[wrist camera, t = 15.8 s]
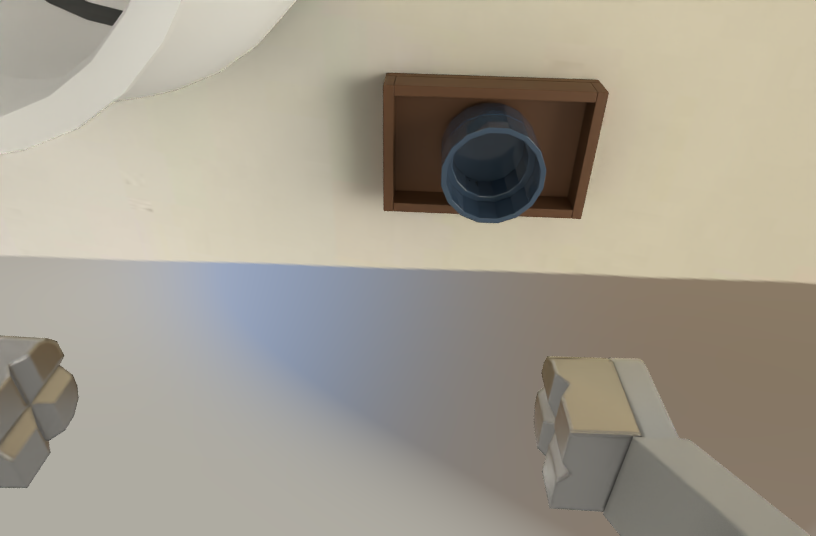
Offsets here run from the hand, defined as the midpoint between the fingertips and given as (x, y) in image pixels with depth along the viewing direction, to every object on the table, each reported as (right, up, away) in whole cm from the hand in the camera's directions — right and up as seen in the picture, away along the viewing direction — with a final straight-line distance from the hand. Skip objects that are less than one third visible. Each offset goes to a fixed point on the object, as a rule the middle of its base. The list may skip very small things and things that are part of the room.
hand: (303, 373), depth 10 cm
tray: (+7, +10, +25) cm, 28 cm away
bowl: (+7, +9, +25) cm, 27 cm away
